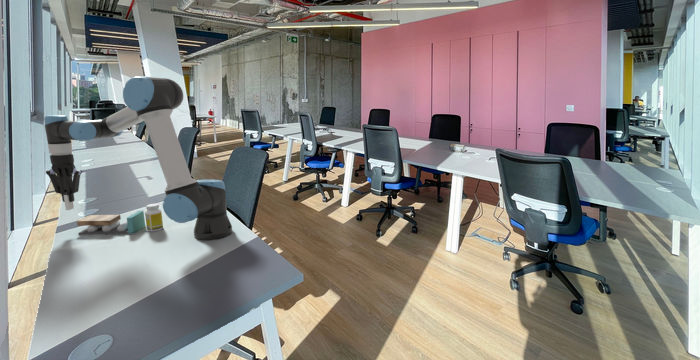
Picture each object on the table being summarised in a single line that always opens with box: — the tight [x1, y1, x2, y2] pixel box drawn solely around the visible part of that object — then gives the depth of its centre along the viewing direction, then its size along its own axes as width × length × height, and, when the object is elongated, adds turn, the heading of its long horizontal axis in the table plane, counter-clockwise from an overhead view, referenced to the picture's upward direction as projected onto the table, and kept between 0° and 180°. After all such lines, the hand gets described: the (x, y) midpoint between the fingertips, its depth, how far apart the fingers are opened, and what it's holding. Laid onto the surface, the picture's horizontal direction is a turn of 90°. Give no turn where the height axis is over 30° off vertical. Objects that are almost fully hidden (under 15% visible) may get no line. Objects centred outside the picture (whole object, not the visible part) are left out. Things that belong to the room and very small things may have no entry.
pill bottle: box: [144, 203, 164, 233], centre depth 155 cm, size 6×6×11 cm
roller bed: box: [77, 210, 146, 236], centre depth 155 cm, size 22×10×7 cm, turn 94°
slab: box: [76, 214, 122, 227], centre depth 154 cm, size 13×8×2 cm, turn 94°
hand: (69, 209), depth 152 cm, fingers closed
